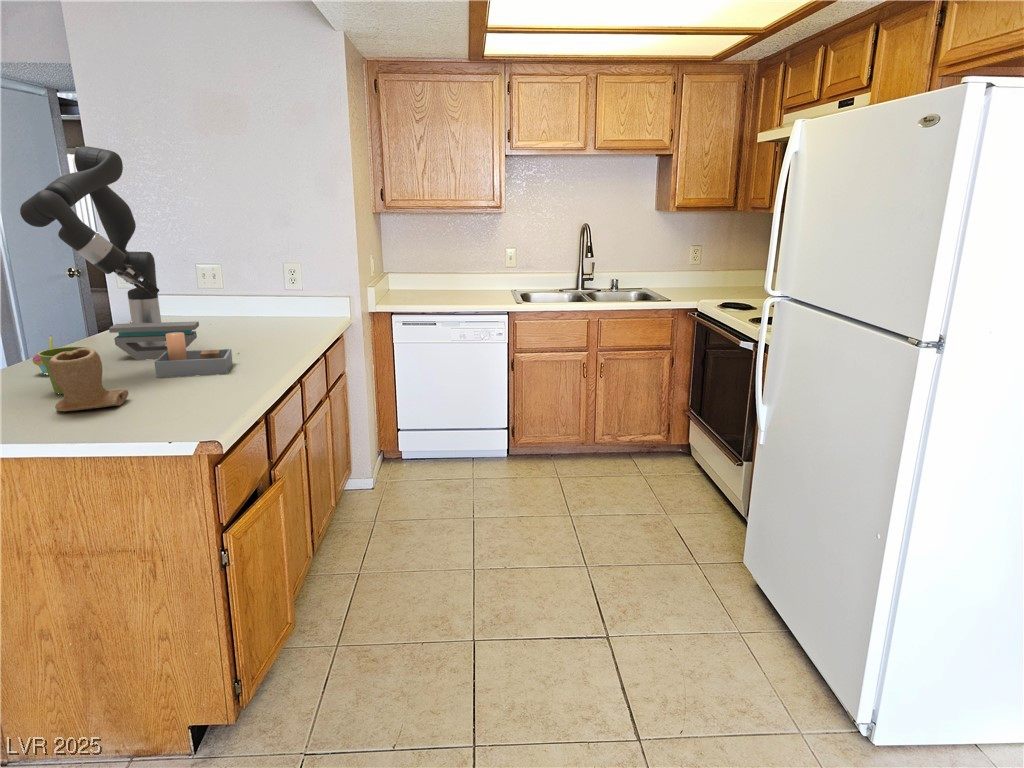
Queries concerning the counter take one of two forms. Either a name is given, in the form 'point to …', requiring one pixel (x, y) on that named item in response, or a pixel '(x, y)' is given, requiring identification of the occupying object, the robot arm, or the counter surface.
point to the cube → (210, 354)
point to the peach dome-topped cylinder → (176, 346)
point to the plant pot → (46, 357)
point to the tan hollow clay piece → (82, 381)
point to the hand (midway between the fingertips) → (152, 291)
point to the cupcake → (38, 360)
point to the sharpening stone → (150, 337)
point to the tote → (193, 364)
